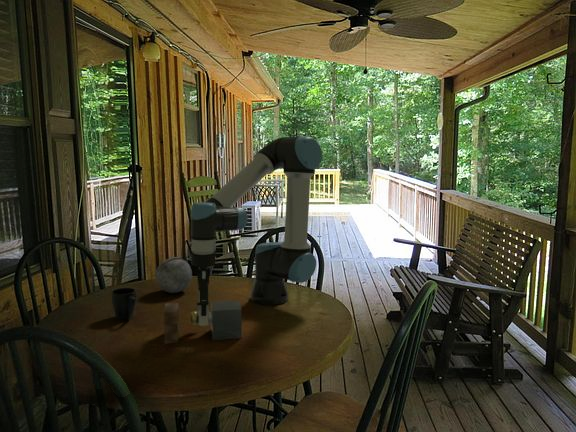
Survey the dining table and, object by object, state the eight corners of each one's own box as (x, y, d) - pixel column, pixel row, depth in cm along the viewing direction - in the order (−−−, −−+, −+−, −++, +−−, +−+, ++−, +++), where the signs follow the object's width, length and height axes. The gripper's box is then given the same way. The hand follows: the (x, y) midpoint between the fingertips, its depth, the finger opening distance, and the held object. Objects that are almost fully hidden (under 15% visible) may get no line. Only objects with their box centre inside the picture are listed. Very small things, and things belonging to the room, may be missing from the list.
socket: (178, 331, 146) (178, 302, 144) (178, 342, 137) (177, 312, 136) (166, 332, 145) (165, 303, 143) (164, 343, 136) (163, 313, 135)
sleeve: (238, 327, 150) (238, 300, 148) (241, 338, 141) (241, 309, 140) (211, 329, 148) (211, 301, 146) (212, 340, 139) (212, 310, 138)
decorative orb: (181, 285, 198) (181, 252, 196) (198, 292, 187) (198, 258, 185) (150, 291, 188) (149, 256, 186) (166, 300, 177) (165, 263, 175)
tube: (234, 319, 147) (234, 305, 146) (236, 325, 142) (236, 310, 142) (191, 322, 144) (191, 308, 143) (191, 328, 139) (191, 313, 139)
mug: (121, 326, 149) (120, 298, 148) (108, 316, 158) (107, 290, 157) (144, 320, 155) (144, 294, 153) (131, 311, 164) (130, 286, 162)
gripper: (191, 244, 151) (190, 305, 153) (191, 260, 126) (190, 332, 129) (213, 244, 152) (213, 304, 155) (217, 260, 128) (217, 331, 130)
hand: (202, 317), depth 142 cm, fingers open, 13 cm apart
